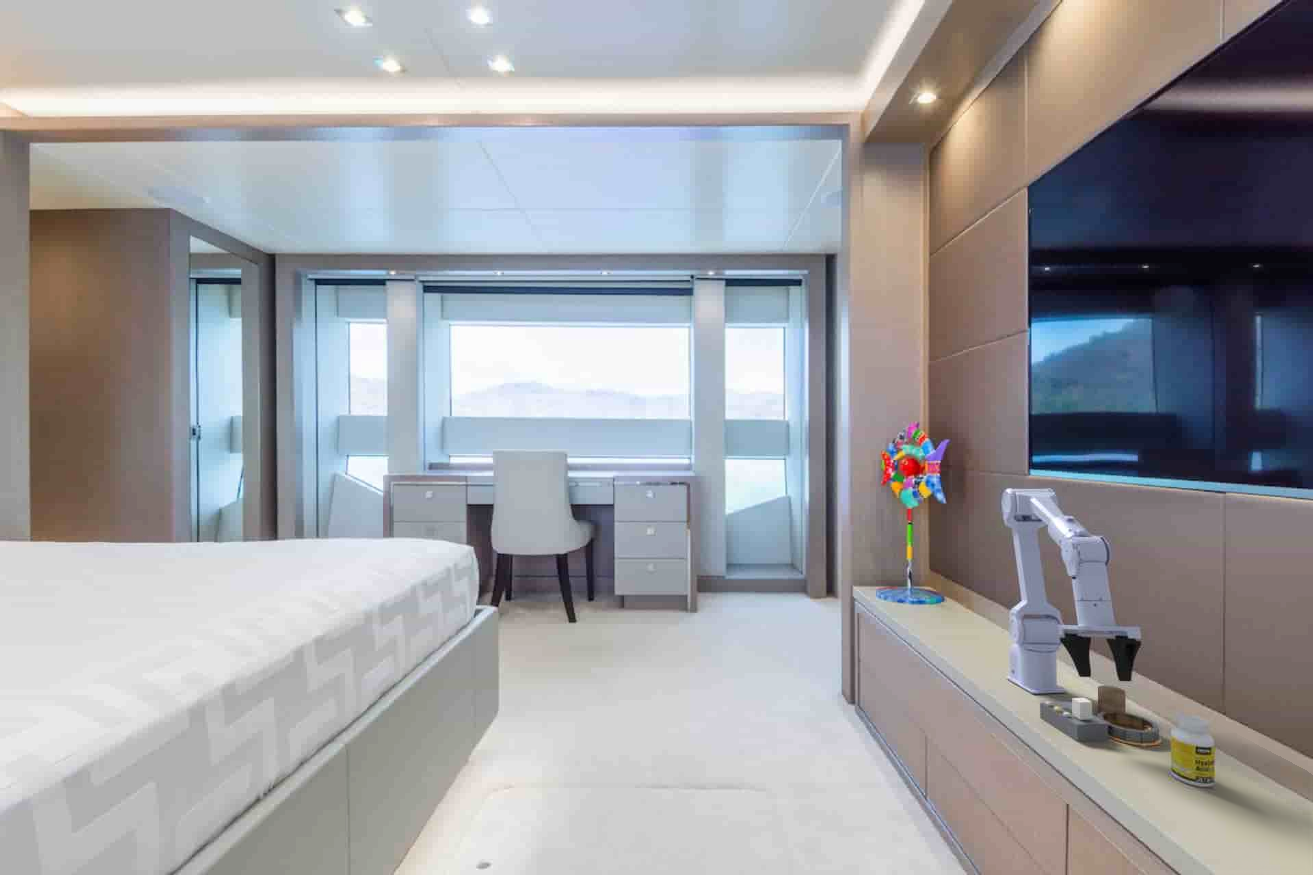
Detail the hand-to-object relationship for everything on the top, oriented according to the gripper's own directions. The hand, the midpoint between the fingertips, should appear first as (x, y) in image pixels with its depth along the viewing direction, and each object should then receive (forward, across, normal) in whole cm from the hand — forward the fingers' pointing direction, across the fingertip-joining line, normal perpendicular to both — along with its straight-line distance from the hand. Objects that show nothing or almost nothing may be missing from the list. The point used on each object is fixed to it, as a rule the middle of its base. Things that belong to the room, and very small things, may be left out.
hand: (1104, 678), depth 116 cm
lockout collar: (+10, -4, +9) cm, 14 cm away
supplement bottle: (+15, +10, +3) cm, 18 cm away
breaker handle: (+7, -6, +1) cm, 9 cm away
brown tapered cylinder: (+8, -11, +14) cm, 20 cm away
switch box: (+10, -9, +2) cm, 13 cm away
